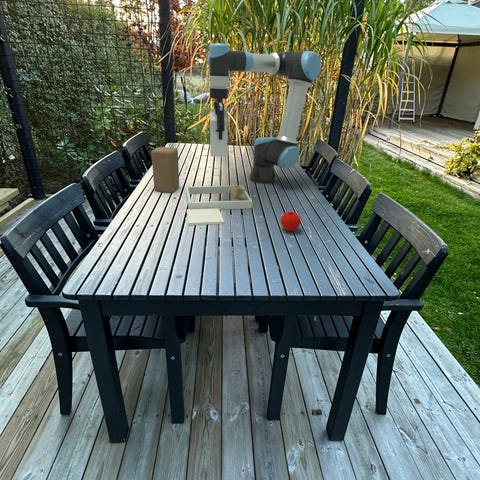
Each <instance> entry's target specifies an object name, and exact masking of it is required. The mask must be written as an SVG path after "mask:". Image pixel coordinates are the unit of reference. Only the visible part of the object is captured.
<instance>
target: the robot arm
mask: <svg viewBox="0 0 480 480" xmlns="http://www.w3.org/2000/svg"><path fill="white" fill-rule="evenodd" d="M208 51H209V54H208V56H207V65H208V66H209V78H208V79H207V81H209V86H210V88H209V98H210V99H212V100H213V99H214V101H213V109H215V114H216V115H217V130H216V132H217V148H223V131H224V130H225V129H224V109H225V103H224V102H223V101H224V100H227V99H228V98H229V89H228V87H229V73H230V72H239V73H245V72H248V73H249V72H251V73H252V72H255V73H268V74H269V75H272V76H274V75H275V76H280V77H284V78H287V81H288V83H289V89H288V93H287V98H286V102H285V107H284V110H283V115H282V119H281V124H280V130H279V133H278V135H277V136H276V137H274V136H272V137H271V136H268V137H267V136H265V137H257V138H255V139H254V145H253V160H252V167H251V170H250V172H249V176H248V178H249V179H248V180H250V181H251V182H252V183H253V182H254V183H257V184H273V183H274V182H275V183H276V181H277V174H276V169H275V166H277V167H280V168H283V169H290V168H292V167H294V166H295V165H296V164H297V163H298V160H299V158H300V149H299V147H298V141H297V139H296V138H297V134H298V129H299V126H300V121H301V117H302V114H303V108H304V104H305V100H306V95H307V92H308V88H310V87H311V86H312V84H313V82H314V80H316V79H317V78H318V77H319V76H320V73H321V70H322V63H321V59H320V56H319V55H318V53H317V52H315V51H310V50H298V51H297V50H296V51H295V50H290V51H283V52H281V51H279V52H271V53H269V54H267V53H253V52H250V51H246V50H230V46H229V44H228V43H216V42H214V43H211V44H210V45H209V50H208Z"/></svg>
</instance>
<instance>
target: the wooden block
mask: <svg viewBox="0 0 480 480" xmlns="http://www.w3.org/2000/svg"><path fill="white" fill-rule="evenodd" d="M150 153H151V163H152V167H151V168H152V178H153V189H154V191H155V192H164V193H171V194H172V193H174V192H175V191H176V190H177V189H179V187H180V174H179V173H180V171H179V170H180V169H179V166H180V165H179V150H178V148H176V147H167V146H159V147H156V148H154V149H153V150H151V152H150Z"/></svg>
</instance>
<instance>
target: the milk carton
mask: <svg viewBox="0 0 480 480" xmlns="http://www.w3.org/2000/svg"><path fill="white" fill-rule="evenodd" d="M209 118H210V119H209V120H210V121H209V130H210V131H209V132H210V133H209V139H210V140H209V141H210V142H209V148H210V149H209V150H210V151H209V152H210V157H228V109H227V108H224V129H225V130H224V131H223V148H217V132H216V130H217V115H216V114H215V109H214V108H210V109H209Z"/></svg>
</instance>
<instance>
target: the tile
mask: <svg viewBox="0 0 480 480" xmlns="http://www.w3.org/2000/svg"><path fill="white" fill-rule="evenodd" d="M186 217H187V222H188V226H203V225H204V226H205V225H224V224H225V220H224V219H223V215H222V212H221V210H219V208H215V209H189V208H188V209H186Z"/></svg>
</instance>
